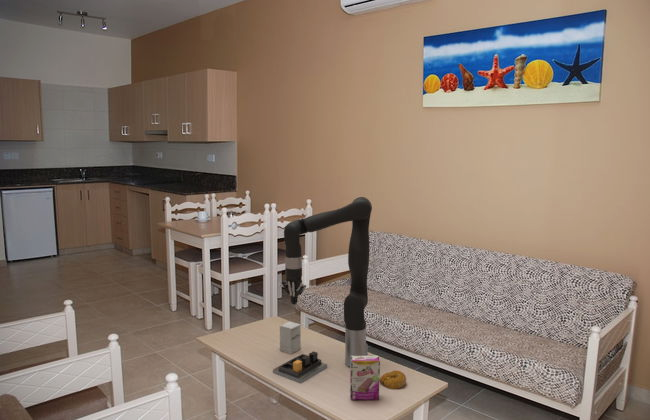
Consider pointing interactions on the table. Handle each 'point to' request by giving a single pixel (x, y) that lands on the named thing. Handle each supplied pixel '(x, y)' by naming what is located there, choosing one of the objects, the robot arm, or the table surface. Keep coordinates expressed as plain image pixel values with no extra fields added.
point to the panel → (309, 367)
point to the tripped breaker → (297, 366)
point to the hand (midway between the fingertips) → (294, 303)
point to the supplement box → (290, 337)
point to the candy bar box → (364, 377)
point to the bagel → (393, 379)
